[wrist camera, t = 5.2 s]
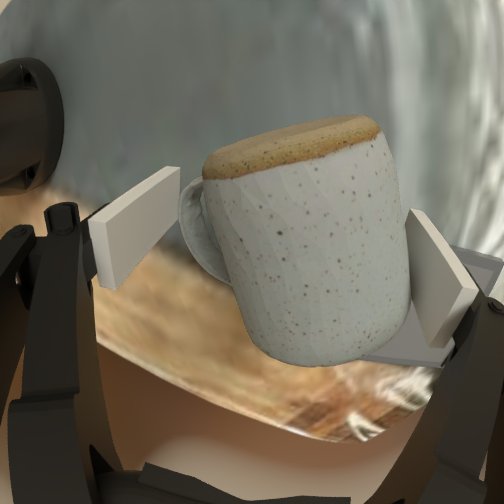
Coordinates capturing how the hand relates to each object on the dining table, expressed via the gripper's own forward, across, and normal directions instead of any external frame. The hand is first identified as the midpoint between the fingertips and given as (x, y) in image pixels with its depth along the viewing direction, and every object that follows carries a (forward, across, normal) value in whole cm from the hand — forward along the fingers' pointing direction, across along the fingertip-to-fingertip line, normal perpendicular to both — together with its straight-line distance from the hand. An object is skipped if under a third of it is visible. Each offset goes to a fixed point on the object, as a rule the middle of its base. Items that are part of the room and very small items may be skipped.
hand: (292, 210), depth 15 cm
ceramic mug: (+1, 0, 0) cm, 1 cm away
